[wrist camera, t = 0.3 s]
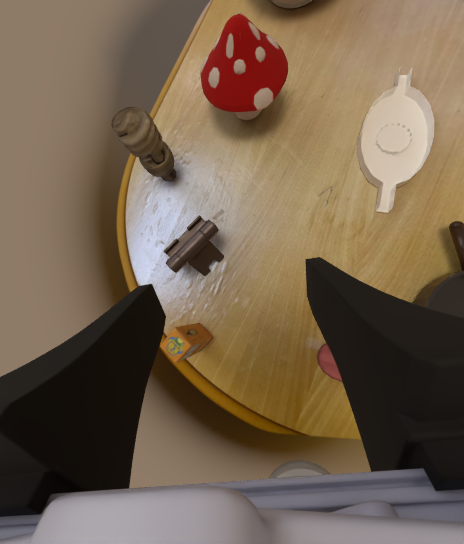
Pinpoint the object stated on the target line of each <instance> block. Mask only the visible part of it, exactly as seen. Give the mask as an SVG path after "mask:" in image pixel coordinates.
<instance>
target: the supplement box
mask: <svg viewBox="0 0 464 544" xmlns="http://www.w3.org/2000/svg"><path fill="white" fill-rule="evenodd" d="M212 338H213V336H212V335H211V334H210V333H209V332H208V331H207V330H206V329H205V328H204V327H203V326H202V325H201V324H200V323H198V324H192V325H186V326H180V327H175V328H174V329H173V330H172V331H171V333H170V334H169V335H168V337H167V338H166V339H165V340H164V342H163V343H162V344H161V345H160V347H161V348H162V349H163V350H164V351H165V352H166V353H167V354H168V356H169V357H170V358H171V359H172V360H173V361H174V362H175V363H178V362H180V361H182V360H184V359H186V358H188V357H189V356H192V355H193V354H195V353H197V352H199V351H201V350H202V349H203V348H204V346H205V345H206V344H207V343H208V342H209V341H210V340H211V339H212Z"/></svg>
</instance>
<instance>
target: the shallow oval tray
mask: <svg viewBox="0 0 464 544" xmlns="http://www.w3.org/2000/svg"><path fill="white" fill-rule="evenodd" d="M400 67H401V66H400ZM412 68H413V66H412ZM412 68H411V70H410V72H409V73H408V75H399V74H400V68H399V70H398V72H397V74H396V77H395V84H394V87H393V88H390V89H388V90H386V91H385V92H384V93H382V94H381V95H380V96H379V97H378V98H377V99H376V100H375V101H374V103H373V105H372V106H371V108H370V110H369V111H368V113H367V115H366V117H365V119H364V121H363V124H362V128H361V131H360V134H359V138H358V159H359V163H360V167H361V170H362V172H363V174H364V175H365V177H366V179H367V180H368V182H370V183H371V184H373V185H374V186H376V187H377V188H378V189H379V190H378V196H377V203H376V210H375V211H378V212H386V213H388V212H389V211H390V210H391V209H392V208H393V203H394V196H395V189H396V188H397V187H400V186H403V185H404V184H405V183H406V182H408V181H409V180H410V179H411V178H412V177H413V176H414V175H415V174H416V173H417V172H418V171H419V170H420V169H421V168H422V166H423V164H424V162H425V160H426V159H427V157H428V155H429V153H430V150H431V146H432V142H433V138H434V116H433V113H432V110H431V106H430V103H429V102H428V100H427V99H426V98H425V96H424V95H423V94H422V92H421V91H419V90H417V89H415V88H413V87H412V86H410V83H411V76H412Z"/></svg>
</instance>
